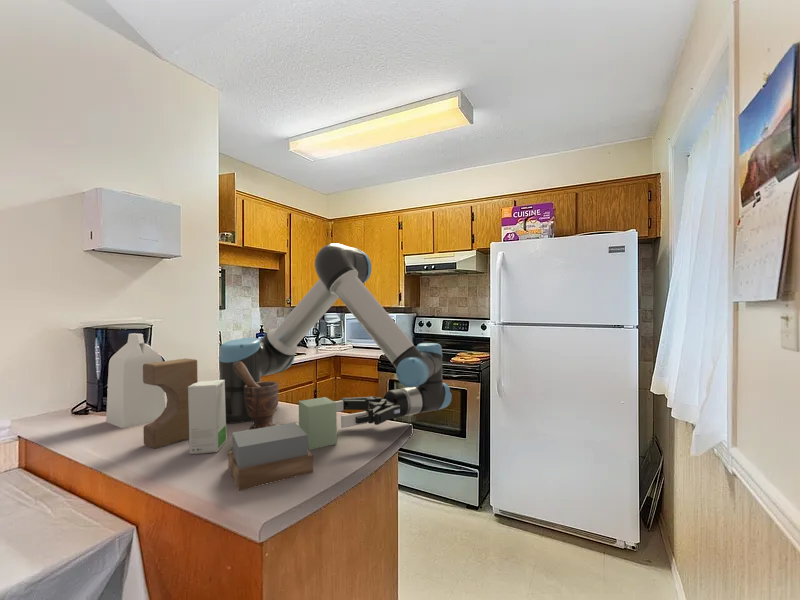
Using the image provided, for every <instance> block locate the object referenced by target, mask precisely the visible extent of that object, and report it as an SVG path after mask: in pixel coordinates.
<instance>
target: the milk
mask: <svg viewBox="0 0 800 600" xmlns="http://www.w3.org/2000/svg"><path fill="white" fill-rule="evenodd" d="M162 361H163V358H162V356H161V355H160V354H159V353H158V352H157V351H155V350H154V349H153V348H152V346H150V345H149V344H148V343H145V340H144V336H143V333H128V337H127V342H126V344H124V345H123V346H122V347H121V348H119V349H118V351H116V352H115V353H114V354H113V355H112V356H111V357H110V359H109V362H108V370H107V371H108V373H107V374H108V376H107V396H106V397H107V398H106V412H105V413H106V414H105V415H106V416H105V417H106V418H105V422H106V423H108V424H110V425H113V426H115V427H118V428H121V429H126V428H131V427H135V425H136V426H139V424H140V425H143V424H149V423H151V422H154V421H155V420H156V419H157V418H158V417H159V416H160V415H161V414H162V413H163V411H164V409H165V408H166V393H165V392H164V391H163V389H162V388H161V387H159V386H157V385H150V384H145V383H143V365H144V364H146V363H154V362H162Z"/></svg>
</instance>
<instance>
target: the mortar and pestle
mask: <svg viewBox="0 0 800 600" xmlns="http://www.w3.org/2000/svg"><path fill="white" fill-rule="evenodd" d="M232 368H233V370H234V372H235V373H236V374H237V375H238V376H239V377H240V378H241V379H242V380H243V381H244V382H245V383H246V385H245V386H244V399H245V405H246V408H247V411H248V412H247V413H248V415H249V416H250V417H251V418H252V419H253V420H252V421H253V423H252V425H251V426H250V427H249V428H248V430H251V429H258V428H264V427H270V426H276V425H277V424H275V423H274V422H273V421H272V418H273V417H274V415H275V413H276V412H277V408H278V406H279V396H280V395H279V382H278V381H274V380H273V381H270V380H267V381H265V380H263V381H261V382H256V383H255V381H254V380H253V378H252V377H251V375H250V373H249V371H248V369H247V368H246V366H245V365H244V363H243V362H241V361H236V362H235V363H233V365H232Z"/></svg>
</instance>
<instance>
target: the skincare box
mask: <svg viewBox="0 0 800 600" xmlns="http://www.w3.org/2000/svg"><path fill="white" fill-rule="evenodd" d="M188 404H189V439H188V440H189V441H188V442H189V445H188V446H189V455H200V454H212V453H217V452H219V451H220V450H221V449H222V447H223V445H225V444H226V442H227V423H226V408H225V380H220V379H217V380H215V379H214V380H200V381H198V382H197V383H194V384H192V385H191V386H188Z"/></svg>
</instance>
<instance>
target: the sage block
mask: <svg viewBox="0 0 800 600" xmlns="http://www.w3.org/2000/svg"><path fill="white" fill-rule="evenodd" d="M337 420H338V419H337V412H336V402H335V401H334V400H332V399H330V398H328V397H326V396H323V397H318V398H317V397H316V398H310V399H304V400H298V426H299V427H300V428H301V429H302V430H303V431H304V432H305V433H306V434H307V437H308V451H311V450H314V449H318V448H319V447H320V448H324V447H323V446H325V447H328V445H329V446H333V445H332V444H334V445H337V444H338V438H337V437H338V435H337V434H338V433H337V429H338V426H337V424H338V423H337V422H338V421H337ZM310 449H311V450H310Z"/></svg>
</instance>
